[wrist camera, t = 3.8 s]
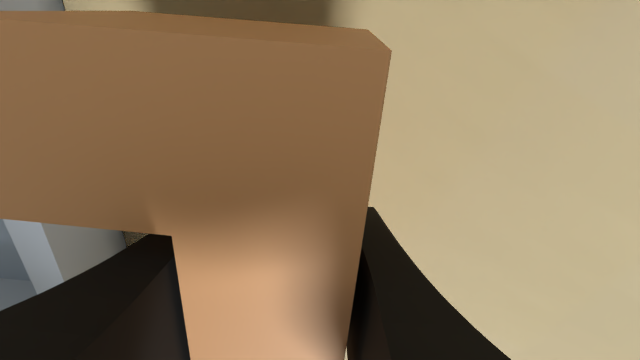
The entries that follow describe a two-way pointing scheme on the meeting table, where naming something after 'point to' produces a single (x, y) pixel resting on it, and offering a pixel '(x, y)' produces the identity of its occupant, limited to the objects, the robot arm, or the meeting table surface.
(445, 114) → the meeting table surface
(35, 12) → the bracket
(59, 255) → the walls
